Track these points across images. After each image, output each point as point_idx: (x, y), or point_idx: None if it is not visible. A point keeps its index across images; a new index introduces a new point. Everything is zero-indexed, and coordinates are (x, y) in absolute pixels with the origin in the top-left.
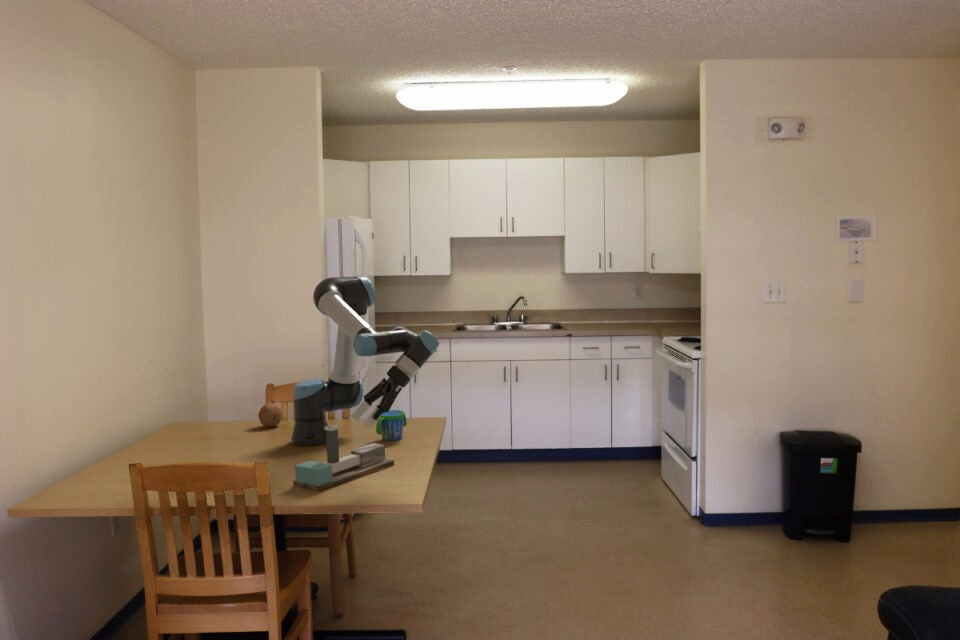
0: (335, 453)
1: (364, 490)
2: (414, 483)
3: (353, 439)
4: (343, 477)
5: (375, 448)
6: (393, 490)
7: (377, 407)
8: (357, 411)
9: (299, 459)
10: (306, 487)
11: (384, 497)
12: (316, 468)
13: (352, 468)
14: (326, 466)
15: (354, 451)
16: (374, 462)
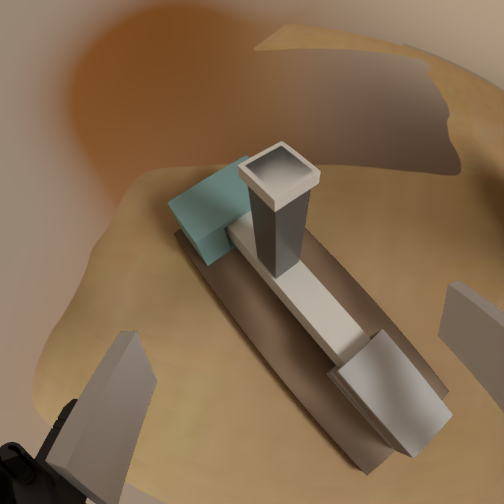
0: (263, 251)
1: None
2: (136, 474)
3: None
4: (230, 299)
5: (384, 426)
6: None
7: (17, 450)
8: (478, 321)
9: (469, 218)
10: None
11: (69, 366)
12: (180, 200)
13: None
14: (186, 226)
15: (369, 342)
16: (362, 415)
